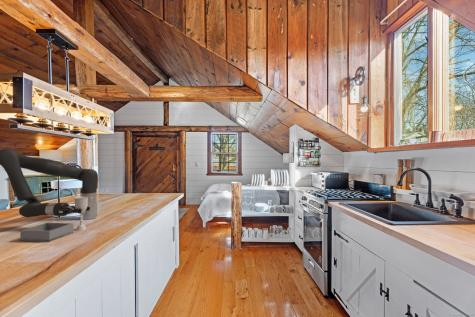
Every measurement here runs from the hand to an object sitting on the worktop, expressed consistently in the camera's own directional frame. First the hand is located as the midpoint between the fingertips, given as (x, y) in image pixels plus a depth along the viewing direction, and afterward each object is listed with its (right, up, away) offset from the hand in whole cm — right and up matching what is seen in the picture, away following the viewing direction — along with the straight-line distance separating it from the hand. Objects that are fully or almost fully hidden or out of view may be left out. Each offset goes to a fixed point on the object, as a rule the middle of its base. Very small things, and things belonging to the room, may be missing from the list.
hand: (85, 209), depth 136 cm
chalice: (-2, -11, 0) cm, 11 cm away
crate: (-10, -11, -13) cm, 20 cm away
